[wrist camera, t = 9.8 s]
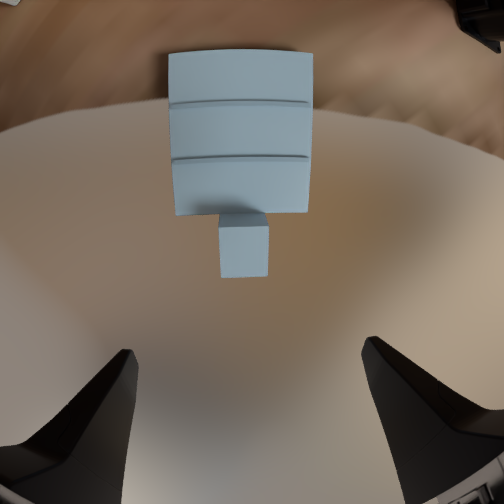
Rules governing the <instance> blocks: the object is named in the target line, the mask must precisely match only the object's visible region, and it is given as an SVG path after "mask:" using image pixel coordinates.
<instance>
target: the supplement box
mask: <svg viewBox="0 0 504 504" xmlns="http://www.w3.org/2000/svg"><path fill="white" fill-rule="evenodd" d="M0 2H4V3H7V4H10V5H13V6H16V5H17V4H18V3H19V2H20V0H0Z"/></svg>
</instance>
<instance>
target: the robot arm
mask: <svg viewBox="0 0 504 504" xmlns="http://www.w3.org/2000/svg"><path fill="white" fill-rule="evenodd" d="M456 4H457V9H458V15H459V21H460V27H461V29H462V31H463V32H465V33H466V34H468V35H470V36H471V37H473V38H475V39H476V40H478V41H479V42H481V43H482V44H484V45H485V46H487V47H488V48H490V49H491V50H493V51H494V52H496V53H501V47H500V41H504V0H456ZM361 356H362V360H363V364H364V368H365V372H366V376H367V381H368V384H369V388H370V391H371V394H372V397H373V400H374V403H375V405H376V408H377V411H378V414H379V417H380V420H381V423H382V426H383V429H384V432H385V435H386V438H387V441H388V444H389V447H390V450H391V454H392V457H393V461H394V464H395V467H396V470H397V474H398V478H399V482H400V485H401V489H402V492H403V496H404V500H405V504H423V503H425V502H427V501H429V500H430V499H432V498H434V497H437V499H438V502H439V504H504V409H503V410H489V409H485V408H483V407H481V406H479V405H477V404H475V403H474V402H472V401H470V400H468V399H467V398H465V397H463V396H461V395H460V394H458V393H457V392H455V391H453V390H452V389H450V388H449V387H448V386H446V385H445V384H443V383H442V382H440V381H438V380H437V379H436V378H435V377H433V376H432V375H431V374H429V373H428V372H426V371H425V370H424V369H422V368H421V367H419V366H418V365H416V364H415V363H414V362H412V361H411V360H410V359H408V358H407V357H405V356H404V355H403V354H401V353H400V352H399V351H397V350H396V349H394V348H393V347H392V346H390V345H389V344H387V343H386V342H385V341H383V340H382V339H380V338H379V337H377V336H371V337H368V338H366V340H365V343H364V346H363V349H362V353H361ZM137 380H138V362H137V360H136V357H135V355H134V352H133V351H132V350H131V349H122V350H120V351H119V352H118V353H117V354H116V355H115V356H114V357H113V358H112V359H111V360H110V361H109V362H108V363H107V364H106V365H105V366H104V367H103V368H102V369H101V370H100V371H99V372H98V373H97V374H96V375H95V376H94V377H93V378H92V379H91V380H90V381H89V382H88V383H87V384H86V385H85V386H84V387H83V388H82V389H81V390H80V392H78V393H77V395H76V396H75V397H74V398H73V399H72V400H71V401H70V402H69V403H68V405H66V406H65V407H64V408H63V409H62V410H61V411H60V412H59V413H58V414H57V415H56V416H55V417H54V418H53V419H52V420H50V421H49V422H48V423H47V424H46V425H45V426H43V427H42V428H41V429H40V430H39V431H37V432H36V433H35V434H34V435H32V436H31V437H30V438H29V439H28V440H26V441H25V442H23V443H20V444H17V445H11V446H3V447H0V504H121V498H122V487H123V479H124V471H125V463H126V456H127V449H128V442H129V437H130V430H131V425H132V419H133V413H134V408H135V402H136V391H137Z"/></svg>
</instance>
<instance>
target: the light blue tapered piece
mask: <svg viewBox="0 0 504 504" xmlns="http://www.w3.org/2000/svg"><path fill="white" fill-rule="evenodd" d="M168 84H169V127H170V148H171V165H172V178H173V189H174V202H175V212H176V216H183V215H207V214H220V217H219V227H218V229H219V248H220V263H221V264H220V265H221V278H233V277H260V276H268V245H269V225H268V222H267V219H266V216H265V213H280V212H281V213H282V212H283V213H287V212H308V200H309V184H310V168H311V167H310V166H311V145H312V116H313V115H312V114H313V54H312V53H303V52H293V51H280V50H258V49H227V50H205V51H192V52H182V53H173V54H169V71H168Z"/></svg>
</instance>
